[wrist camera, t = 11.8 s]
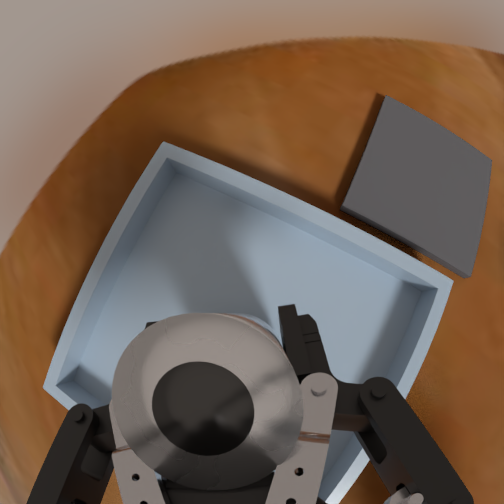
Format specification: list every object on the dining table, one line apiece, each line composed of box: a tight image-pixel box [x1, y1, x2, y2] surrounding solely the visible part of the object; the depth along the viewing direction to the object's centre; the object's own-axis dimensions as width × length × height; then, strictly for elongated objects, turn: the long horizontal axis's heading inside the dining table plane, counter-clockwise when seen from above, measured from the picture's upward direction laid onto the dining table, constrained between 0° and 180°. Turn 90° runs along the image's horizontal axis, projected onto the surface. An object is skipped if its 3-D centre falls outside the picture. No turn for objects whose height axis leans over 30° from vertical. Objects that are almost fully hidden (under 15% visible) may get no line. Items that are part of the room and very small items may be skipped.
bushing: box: [112, 313, 304, 490], centre depth 13 cm, size 5×5×12 cm
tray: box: [43, 141, 453, 504], centre depth 19 cm, size 20×22×4 cm
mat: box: [340, 95, 492, 278], centre depth 22 cm, size 12×12×1 cm
